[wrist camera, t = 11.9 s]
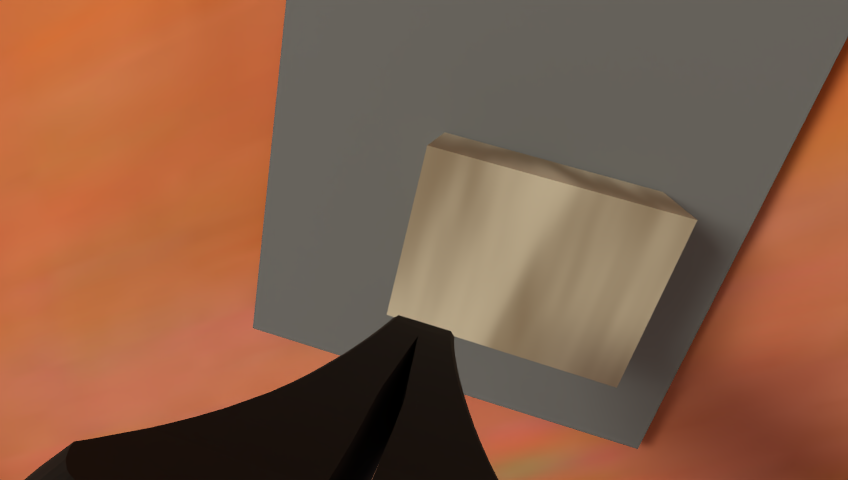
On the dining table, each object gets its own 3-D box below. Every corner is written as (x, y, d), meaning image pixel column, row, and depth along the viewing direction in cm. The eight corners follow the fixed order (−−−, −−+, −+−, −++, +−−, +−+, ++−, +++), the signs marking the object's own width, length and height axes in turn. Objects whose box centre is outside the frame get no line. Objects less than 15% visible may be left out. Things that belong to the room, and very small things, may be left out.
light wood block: (445, 131, 17) (661, 190, 17) (409, 273, 20) (599, 331, 19) (427, 145, 14) (697, 220, 13) (386, 314, 16) (616, 387, 15)
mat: (896, -84, 14) (912, -91, 13) (634, 439, 21) (637, 448, 20) (315, -193, 15) (307, -203, 15) (259, 321, 23) (253, 327, 22)
